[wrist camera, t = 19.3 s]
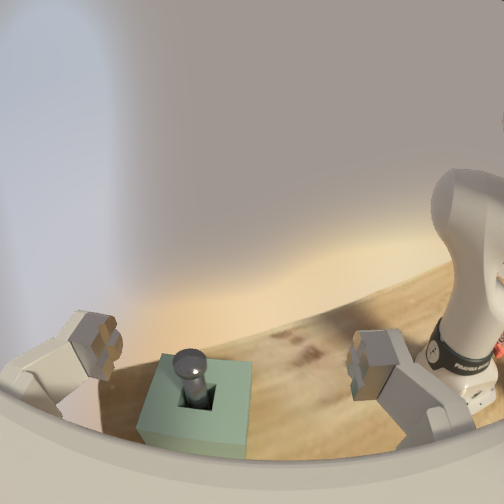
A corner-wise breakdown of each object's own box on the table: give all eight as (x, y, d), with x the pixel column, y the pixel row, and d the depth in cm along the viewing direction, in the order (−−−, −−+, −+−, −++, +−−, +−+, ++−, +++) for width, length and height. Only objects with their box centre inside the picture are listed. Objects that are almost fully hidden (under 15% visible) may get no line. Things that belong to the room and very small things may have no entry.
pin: (217, 405, 44) (209, 350, 37) (213, 427, 40) (203, 376, 33) (191, 402, 44) (176, 347, 37) (186, 424, 40) (168, 371, 33)
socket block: (251, 383, 48) (252, 361, 45) (245, 459, 35) (245, 444, 32) (168, 375, 49) (162, 353, 46) (146, 445, 36) (135, 428, 33)
